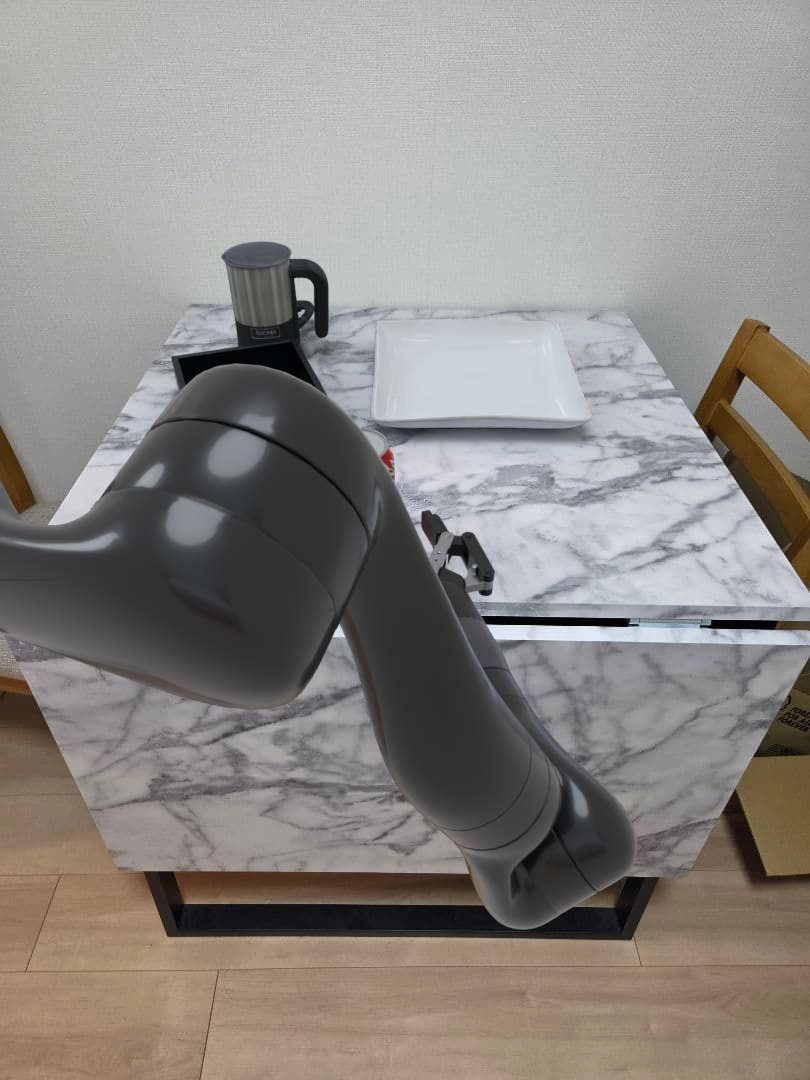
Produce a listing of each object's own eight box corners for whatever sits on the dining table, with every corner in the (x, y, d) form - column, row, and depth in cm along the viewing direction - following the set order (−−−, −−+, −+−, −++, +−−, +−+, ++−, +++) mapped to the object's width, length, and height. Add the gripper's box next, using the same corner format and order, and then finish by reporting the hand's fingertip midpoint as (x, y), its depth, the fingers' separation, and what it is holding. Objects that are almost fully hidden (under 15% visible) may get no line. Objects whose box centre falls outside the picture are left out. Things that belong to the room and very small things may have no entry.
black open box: (197, 461, 89) (188, 421, 85) (178, 393, 100) (170, 356, 97) (331, 436, 93) (328, 397, 90) (298, 373, 105) (295, 337, 101)
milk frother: (246, 374, 104) (232, 270, 95) (217, 328, 115) (202, 230, 105) (341, 355, 109) (336, 254, 99) (305, 312, 120) (297, 217, 110)
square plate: (375, 341, 113) (374, 316, 110) (554, 342, 113) (558, 318, 111) (370, 441, 92) (370, 414, 90) (589, 443, 93) (595, 416, 90)
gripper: (536, 599, 57) (454, 479, 69) (359, 646, 54) (304, 511, 65) (524, 661, 62) (449, 540, 74) (362, 708, 59) (310, 573, 70)
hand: (381, 526), depth 69 cm, fingers open, 8 cm apart
